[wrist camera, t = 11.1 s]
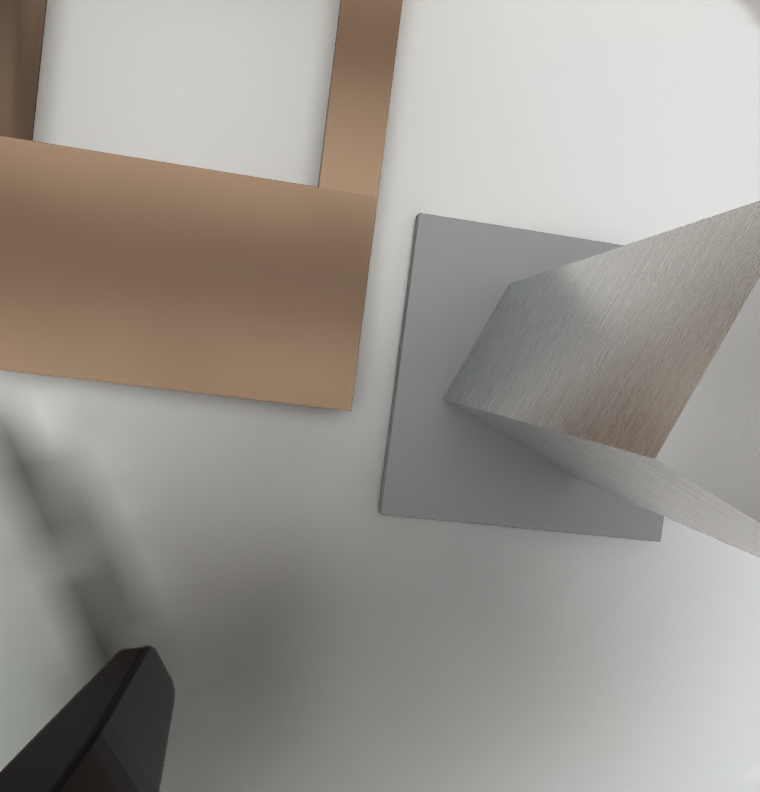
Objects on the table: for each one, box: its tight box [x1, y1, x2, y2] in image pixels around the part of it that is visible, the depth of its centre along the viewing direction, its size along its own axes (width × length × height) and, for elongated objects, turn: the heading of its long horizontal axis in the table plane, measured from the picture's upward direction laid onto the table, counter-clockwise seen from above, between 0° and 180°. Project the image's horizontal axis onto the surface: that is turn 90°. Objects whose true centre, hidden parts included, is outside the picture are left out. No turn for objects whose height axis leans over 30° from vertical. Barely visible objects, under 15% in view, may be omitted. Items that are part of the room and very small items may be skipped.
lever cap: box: [443, 201, 760, 557], centre depth 15 cm, size 4×5×12 cm
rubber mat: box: [379, 213, 664, 542], centre depth 21 cm, size 9×9×1 cm
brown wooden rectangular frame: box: [0, 0, 402, 411], centre depth 18 cm, size 14×11×3 cm
